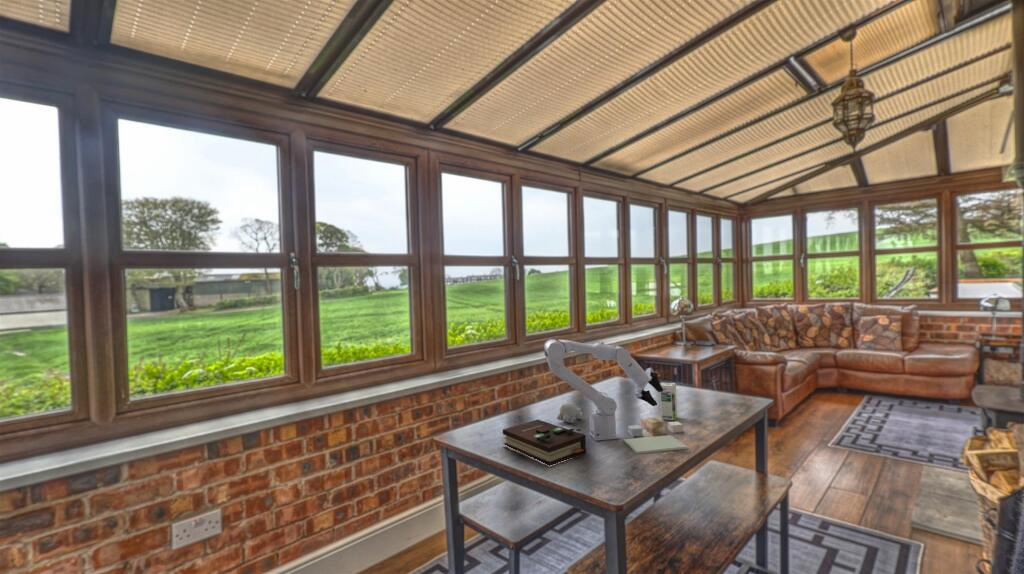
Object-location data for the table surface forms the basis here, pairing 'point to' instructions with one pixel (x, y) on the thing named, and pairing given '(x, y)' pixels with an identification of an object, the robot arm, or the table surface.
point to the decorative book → (545, 441)
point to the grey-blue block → (635, 430)
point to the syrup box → (668, 401)
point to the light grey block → (675, 427)
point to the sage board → (654, 444)
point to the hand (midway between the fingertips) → (658, 398)
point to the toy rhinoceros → (569, 412)
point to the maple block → (655, 426)
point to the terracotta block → (643, 423)
